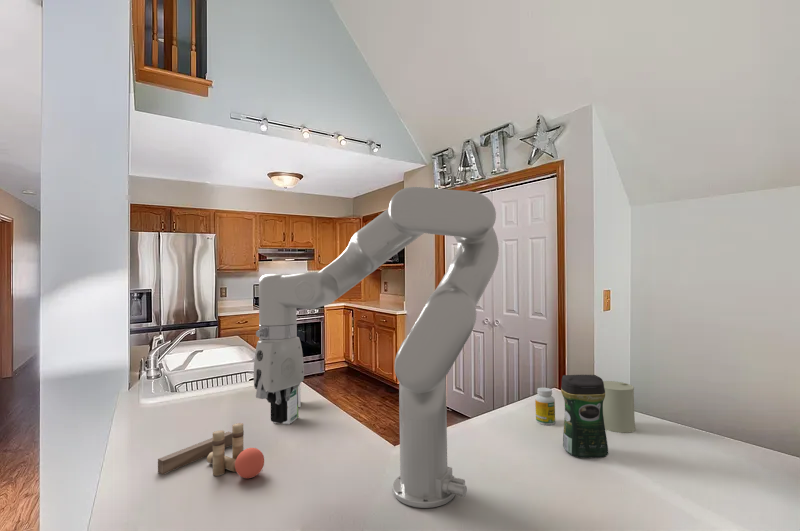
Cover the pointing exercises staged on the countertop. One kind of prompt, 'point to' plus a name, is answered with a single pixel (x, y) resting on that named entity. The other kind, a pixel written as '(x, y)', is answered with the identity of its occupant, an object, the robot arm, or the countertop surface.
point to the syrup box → (292, 407)
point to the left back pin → (218, 453)
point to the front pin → (228, 462)
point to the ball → (249, 463)
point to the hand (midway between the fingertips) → (279, 421)
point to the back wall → (189, 454)
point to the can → (619, 407)
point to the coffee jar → (584, 416)
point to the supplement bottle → (545, 407)
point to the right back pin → (237, 439)
